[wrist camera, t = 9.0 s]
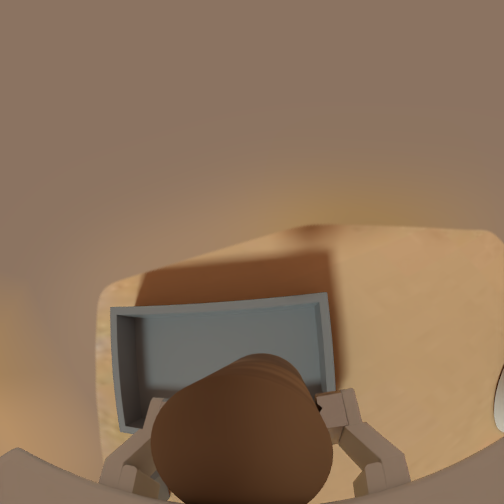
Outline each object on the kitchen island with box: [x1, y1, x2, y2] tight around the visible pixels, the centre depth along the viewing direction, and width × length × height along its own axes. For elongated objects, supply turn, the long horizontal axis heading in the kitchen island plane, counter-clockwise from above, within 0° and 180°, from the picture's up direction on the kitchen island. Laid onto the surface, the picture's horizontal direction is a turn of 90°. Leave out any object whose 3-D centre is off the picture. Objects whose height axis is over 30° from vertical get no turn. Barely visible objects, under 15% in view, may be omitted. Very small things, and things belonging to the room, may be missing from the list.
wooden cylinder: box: [151, 353, 333, 504], centre depth 10 cm, size 5×5×9 cm
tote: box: [110, 292, 336, 434], centre depth 26 cm, size 22×14×5 cm, turn 94°
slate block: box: [150, 470, 170, 501], centre depth 20 cm, size 4×4×10 cm
